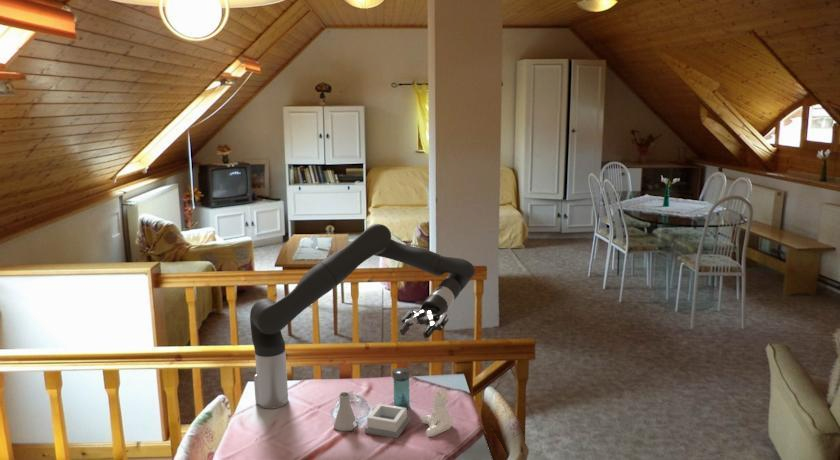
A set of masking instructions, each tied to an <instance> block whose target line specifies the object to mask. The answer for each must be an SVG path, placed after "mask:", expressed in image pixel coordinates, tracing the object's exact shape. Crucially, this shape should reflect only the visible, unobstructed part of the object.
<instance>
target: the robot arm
mask: <svg viewBox="0 0 840 460" xmlns="http://www.w3.org/2000/svg"><path fill="white" fill-rule="evenodd" d="M373 256H376V257H381V258H384V259H389V260H392V261H397V262H400V263H402V264H405V265H408V266H411V267H414V268H416V269H418V270H421V271H423V272H425V273H428V274H431V275H433V276H437V277H441V276H443V275H445V274H447V273H448V275H447V276H446V278H444V279H443V280H442V281H441V282H440V283H439V284H438V286H437V287H436V288H435V289H433V291H431V293H430V294H429V296H427V297H426V299H425V300H424V301H423V303H421V307H420V309H419V310H417V311H414V309H413V308H410V309H409V310H408V311H407V312H406V313H405V314H404V315H403V316H402V318H401V319H400V321H401V323H402V324H401V327H400V328H399V331H400V334H401V335H402V336H405V335H406V333H407V332H408V331H409V329H411V328H412V327H417V326H420V325H421V326H422V325H423V326H427V327H426V329H425V330H424V331H423V333H422V334H423V338H424V339H426V340H427V339H428V338H429V337H431V336H432V335H433V333H434V332H436V331H438V332H441V331H443V329H444V327H445V326H446V325H447V323H448V322H449V316H448V314H447V312H448V311H449V309H450V308H451V307H452V305H453V303H454V301H456V299H457V298H458V297H459V295H460V293H461V292H462V291H463V290H464V289H465V287H466V286H468V283H469V282H470V281H471V280H472V278H473V277H474V275H475V274H476V273H475V272H476V269H475V267H474V264H472V263H471V262H470V261H468V260H466V259H464V258H459V257H458V258H457V257H451V256H444V255H441V254H438V253H437V252H434V251H431V250H429V249H426V248H421V247H417V246H413V245H408V244H404V243H401V242H399V241H396V240H394V239H392V233H391V230H390V229H389V228H388V227H387V226H386V225H384V224H381V223H380V224H379V223H376V224H372V225H369V226H368V227H367V228H365V230H364V231H362V233H360V235H358V236H357V237H356V238H355V239H353V240H352V241H351V242H349V244H347V245H345V246H344V247H342V248H340V249H339V250H338V251H337V250H336V251H335V252H334V253H332V254H331V255H329V256H327V257H326V258H324V259H323V260H321V261H320V262H318V263H317V264H316V265H314V266H313V267H312V268H310V269H308V270H307V271H306V272H305V274H304V275H303V276H302V278H301V279H300V280H299V282H298V283H297V284H296V286H295V287H294V289H292V291H291V292H289V293H288V294H287V295H286V296H284V297H282V298H281V299H279V300H277V301H276V302H275V300H272V299H268V298H263V299H259V300H258V301H256V302H255V303H254V304H253V305H252V307H251V308H250V309H251V310H250V312H249V321H250V322H249V323H250V330H251V331H250V332H251V334H250V335H251V341H252V344H253V348H254V357H255V358H254V359H255V371H256V372H255V373H256V374H255V375H253V384H254V396H255V405H258V406H259V407H261V408H263V409H269V410H270V409H278V408H281V407H283V406H285V405H286V404H288V402H289V390H288V389H289V387H288V386H289V385H288V373H287V371H288V369H287V358H286V357H287V355H286V343H285V340H284V337H283V335H282V330H283V329H285V327H287V326H288V324H290V323H291V322H292V321H293V320H295V318H297V316H299V315H300V314H301V313H302V312H303V311H304V310H306V309H308V307H310V306H311V305H313V304H314V303H315V302H316V301H318V300H320V299H321V298H322V297H323V296H324V295H326V294H328V293H329V292H331V291H333V289H335V288H336V287H337V286H338V285H340V284H341V283H342V282H344V281H345V279H347V277H349V276H350V275H351V274H352V273H353V272H354V271H355V270H356V269H357V268H358V267H359V266H361V264H363V263H364V262H365V261H367V260H368V259H371V258H372V257H373ZM416 319H417V321H416Z"/></svg>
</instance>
